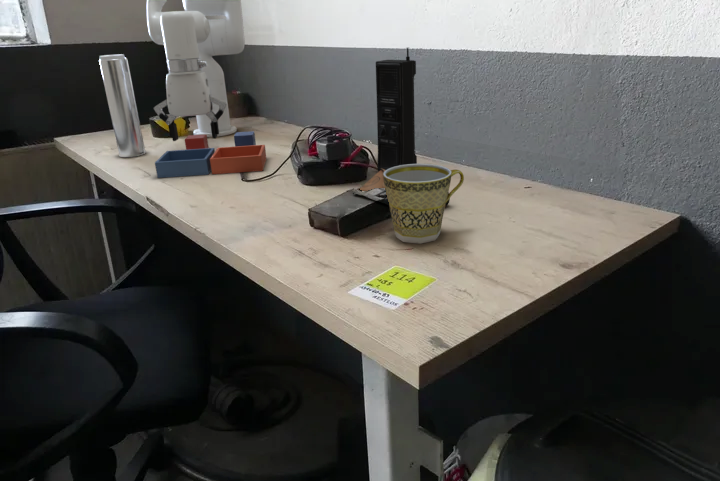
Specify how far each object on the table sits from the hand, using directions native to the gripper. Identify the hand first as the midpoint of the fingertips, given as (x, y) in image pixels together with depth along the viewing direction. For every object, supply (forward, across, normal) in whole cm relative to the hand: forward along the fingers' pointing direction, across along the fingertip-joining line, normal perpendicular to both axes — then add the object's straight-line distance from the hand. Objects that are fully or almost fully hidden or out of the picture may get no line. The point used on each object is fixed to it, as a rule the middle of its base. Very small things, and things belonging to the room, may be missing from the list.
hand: (195, 138), depth 141 cm
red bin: (+5, -12, +12) cm, 18 cm away
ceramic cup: (+6, -46, +62) cm, 78 cm away
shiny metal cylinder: (+4, +18, -8) cm, 21 cm away
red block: (+5, 0, -1) cm, 5 cm away
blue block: (+5, -12, -1) cm, 13 cm away
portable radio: (+6, -46, +25) cm, 53 cm away
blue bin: (+5, 0, +12) cm, 13 cm away
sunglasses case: (+6, -44, +45) cm, 64 cm away
